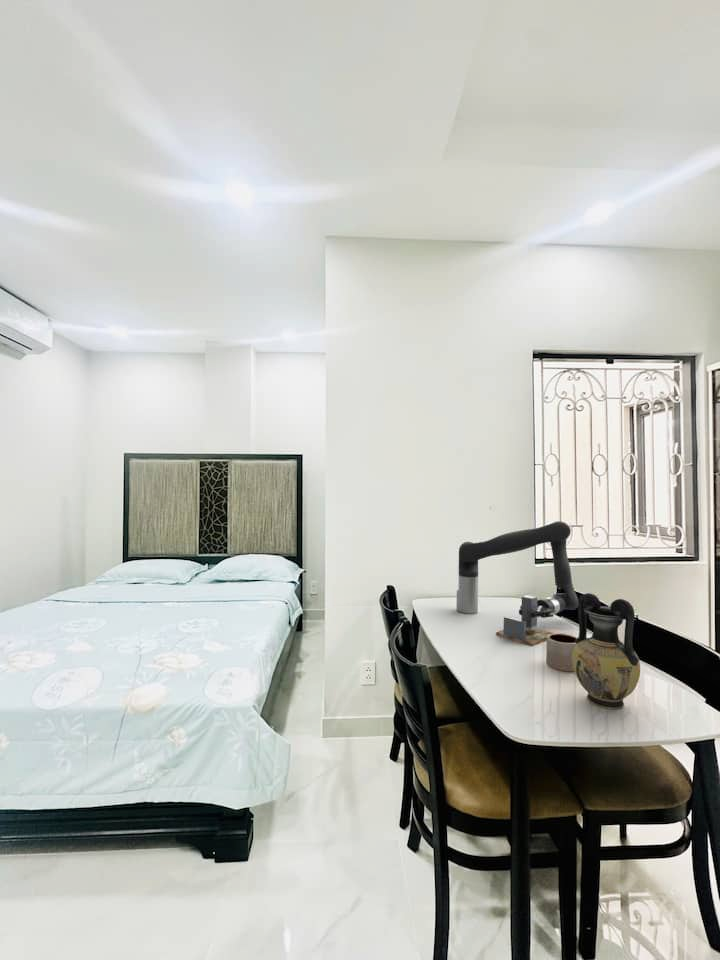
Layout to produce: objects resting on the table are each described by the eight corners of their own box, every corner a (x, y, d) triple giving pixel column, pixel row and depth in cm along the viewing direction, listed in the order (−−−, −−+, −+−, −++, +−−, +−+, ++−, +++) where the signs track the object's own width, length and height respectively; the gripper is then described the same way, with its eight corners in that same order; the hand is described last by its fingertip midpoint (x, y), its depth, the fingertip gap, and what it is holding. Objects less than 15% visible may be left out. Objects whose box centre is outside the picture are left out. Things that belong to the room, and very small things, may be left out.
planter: (587, 673, 151) (587, 644, 151) (553, 672, 151) (553, 643, 151) (572, 660, 162) (572, 633, 162) (541, 660, 162) (541, 632, 162)
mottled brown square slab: (495, 635, 188) (496, 631, 188) (520, 626, 200) (520, 623, 200) (532, 646, 176) (532, 642, 176) (555, 636, 188) (555, 633, 188)
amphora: (561, 700, 131) (562, 594, 132) (583, 683, 143) (584, 586, 144) (630, 724, 119) (631, 607, 119) (648, 703, 131) (649, 596, 131)
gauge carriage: (511, 632, 187) (512, 598, 187) (526, 627, 194) (526, 594, 194) (528, 637, 181) (528, 601, 181) (542, 632, 188) (543, 597, 188)
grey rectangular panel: (503, 634, 186) (503, 616, 186) (505, 633, 186) (505, 616, 187) (524, 640, 179) (524, 622, 179) (525, 639, 180) (525, 621, 180)
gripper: (531, 595, 204) (510, 601, 193) (563, 601, 193) (542, 608, 182) (531, 612, 204) (509, 619, 193) (563, 619, 193) (542, 627, 182)
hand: (525, 613), depth 188 cm, fingers closed on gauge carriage, 4 cm apart
